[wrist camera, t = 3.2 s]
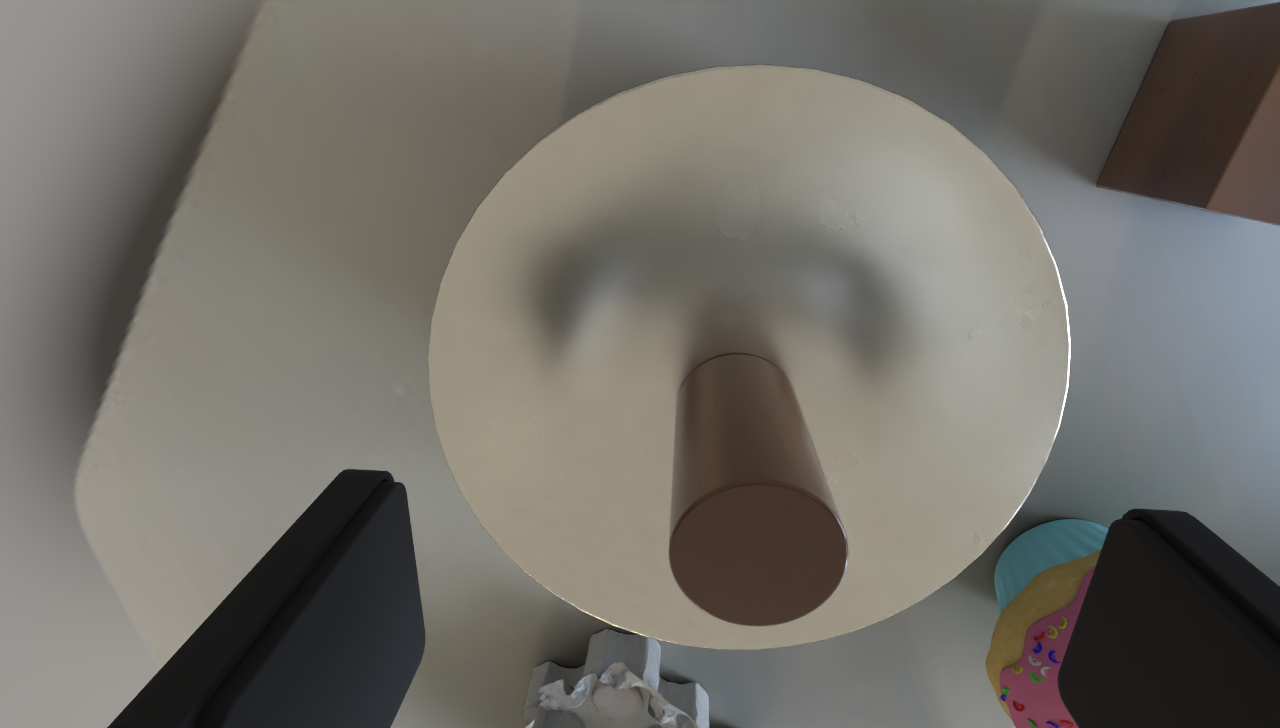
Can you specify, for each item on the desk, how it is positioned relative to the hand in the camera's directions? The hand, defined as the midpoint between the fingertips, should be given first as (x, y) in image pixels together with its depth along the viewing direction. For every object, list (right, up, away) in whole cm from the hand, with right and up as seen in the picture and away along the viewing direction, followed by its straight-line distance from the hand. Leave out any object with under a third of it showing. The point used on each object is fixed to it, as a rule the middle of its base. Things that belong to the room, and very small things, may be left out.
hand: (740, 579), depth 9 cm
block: (+15, +10, +10) cm, 21 cm away
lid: (+1, +2, +6) cm, 6 cm away
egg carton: (-1, -13, +21) cm, 24 cm away
